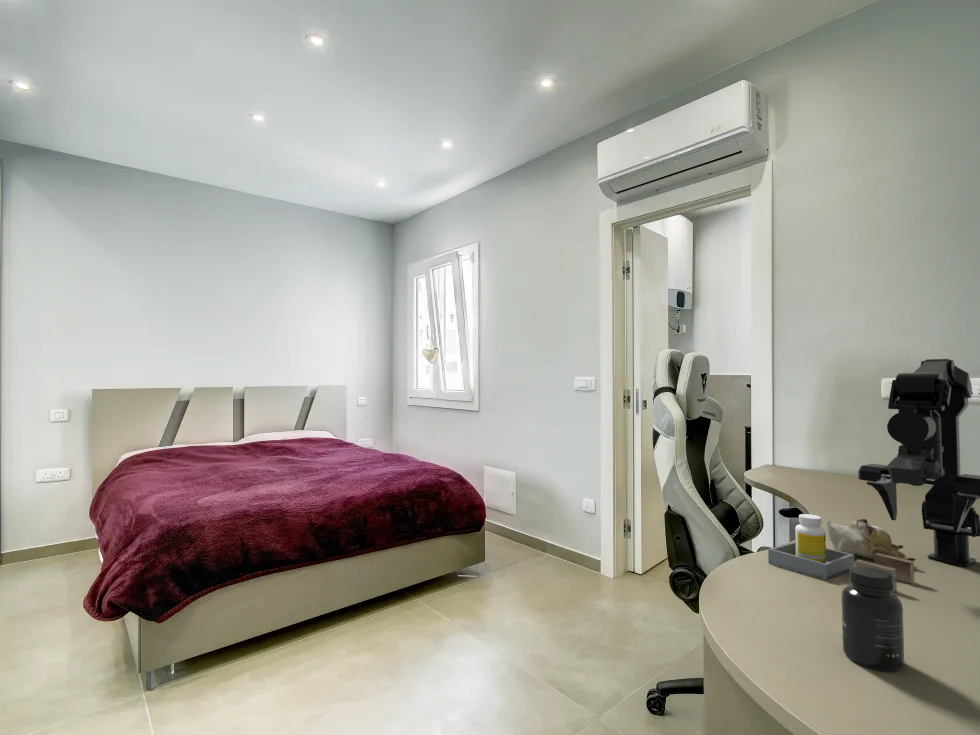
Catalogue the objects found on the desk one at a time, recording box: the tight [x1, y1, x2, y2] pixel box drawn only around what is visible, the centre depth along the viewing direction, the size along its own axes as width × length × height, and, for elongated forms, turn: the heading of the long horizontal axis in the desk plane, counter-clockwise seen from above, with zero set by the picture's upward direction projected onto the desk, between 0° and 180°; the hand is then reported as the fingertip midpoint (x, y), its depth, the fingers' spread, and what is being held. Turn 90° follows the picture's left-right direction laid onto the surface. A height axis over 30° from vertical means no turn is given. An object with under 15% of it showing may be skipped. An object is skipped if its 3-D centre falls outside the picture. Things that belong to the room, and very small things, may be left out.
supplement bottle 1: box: [794, 513, 827, 563], centre depth 107 cm, size 5×5×10 cm
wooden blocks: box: [854, 553, 915, 594], centre depth 98 cm, size 9×6×4 cm, turn 121°
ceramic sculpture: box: [826, 518, 916, 562], centre depth 112 cm, size 11×9×15 cm
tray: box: [767, 540, 855, 581], centre depth 107 cm, size 11×11×3 cm
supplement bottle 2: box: [841, 566, 905, 673], centre depth 70 cm, size 7×7×12 cm
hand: (923, 525), depth 94 cm, fingers open, 9 cm apart
